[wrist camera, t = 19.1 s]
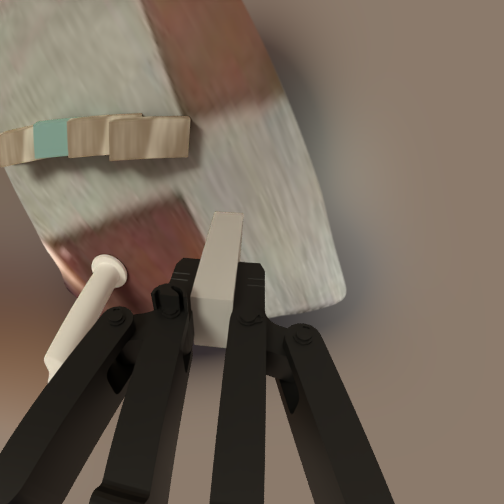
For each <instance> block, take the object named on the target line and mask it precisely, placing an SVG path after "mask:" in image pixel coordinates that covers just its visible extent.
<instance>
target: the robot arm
mask: <svg viewBox="0 0 504 504" xmlns="http://www.w3.org/2000/svg"><path fill="white" fill-rule="evenodd" d="M242 226H243V213H230V212H217V211H215V213H214V216H213V219H212V223H211V226H210V229H209V233H208V236H207V239H206V243H205V246H204V250H203V253H202V256H201V259H191V258H183V259H181V260H180V261H179V262H178V263H177V264H176V266H175V269H174V272H173V274H172V277H171V280H170V282H169V283H168V284H163V285H159V286H158V287H156V288H155V289H154V290H153V291H152V293H151V296H152V302H153V307H154V311H151V312H148V313H144V314H135V315H133V314H132V312H131V311H130V310H129V309H127V308H126V307H120V306H119V307H113V308H110V309H108V310H107V311H106V312H104V313H103V314H102V315H101V317H100V318H99V319H98V320H97V321H96V323H95V324H94V325H93V326H92V328H91V329H90V330H89V331H88V332H87V334H86V335H85V336H84V337H83V339H82V340H81V341H80V342H79V344H78V345H77V346H76V347H75V349H74V350H73V351H72V352H71V354H70V355H69V356H68V358H67V359H66V360H65V361H64V363H63V364H62V365H61V367H60V368H59V369H58V371H57V372H56V373H55V375H54V376H53V377H52V379H51V380H50V381H49V383H48V384H47V385H46V387H45V388H44V389H43V391H42V392H41V394H40V395H39V396H38V398H37V399H36V401H35V402H34V403H33V405H32V406H31V408H30V409H29V411H28V412H27V413H26V415H25V416H24V418H23V419H22V421H21V422H20V424H19V425H18V427H17V428H16V430H15V431H14V433H13V434H12V436H11V437H10V439H9V440H8V442H7V444H6V445H5V447H4V448H3V450H2V452H1V453H0V504H62V503H63V501H64V500H65V498H66V496H67V495H68V493H69V491H70V489H71V487H72V486H73V484H74V482H75V480H76V478H77V476H78V475H79V473H80V471H81V470H82V468H83V466H84V464H85V463H86V461H87V459H88V457H89V456H90V454H91V452H92V450H93V449H94V447H95V445H96V444H97V442H98V440H99V438H100V437H101V435H102V433H103V432H104V430H105V428H106V427H107V425H108V423H109V422H110V420H111V418H112V417H113V415H114V413H115V412H116V410H117V408H118V407H119V405H120V403H121V402H122V400H123V399H124V402H123V405H122V409H121V412H120V415H119V419H118V422H117V426H116V430H115V433H114V437H113V441H112V445H111V448H110V452H109V457H108V460H107V465H106V469H105V473H104V478H103V481H102V483H101V485H100V486H99V487H97V488H96V489H95V490H94V492H93V493H92V495H91V498H90V502H89V504H168V498H169V491H170V483H171V477H172V470H173V464H174V457H175V451H176V445H177V439H178V433H179V427H180V421H181V415H182V409H183V404H184V399H185V393H186V388H187V382H188V377H189V372H190V367H191V361H192V356H193V353H192V345H193V340H194V344H195V345H202V346H211V347H222V348H226V354H225V364H224V371H223V372H224V373H223V380H222V390H221V398H220V407H219V416H218V426H217V435H216V444H215V455H214V463H213V473H212V483H211V494H210V504H264V474H265V473H264V472H265V419H266V414H265V413H266V375H269V376H272V377H275V380H276V383H277V386H278V389H279V392H280V396H281V399H282V402H283V405H284V409H285V412H286V415H287V418H288V421H289V424H290V428H291V431H292V434H293V437H294V440H295V443H296V447H297V450H298V453H299V456H300V459H301V462H302V465H303V468H304V472H305V475H306V478H307V481H308V484H309V487H310V490H311V493H312V496H313V499H314V502H315V504H395V503H394V501H393V499H392V496H391V493H390V491H389V489H388V486H387V484H386V481H385V479H384V477H383V474H382V472H381V469H380V467H379V465H378V462H377V460H376V457H375V455H374V453H373V450H372V449H371V446H370V444H369V441H368V439H367V436H366V434H365V432H364V430H363V427H362V425H361V423H360V421H359V418H358V416H357V414H356V411H355V409H354V407H353V405H352V403H351V400H350V398H349V396H348V394H347V391H346V389H345V387H344V385H343V382H342V380H341V378H340V376H339V374H338V371H337V369H336V367H335V365H334V363H333V360H332V358H331V356H330V354H329V352H328V350H327V347H326V345H325V343H324V341H323V339H322V337H321V335H320V333H319V332H318V331H317V329H315V328H314V327H312V326H311V325H307V324H295V325H291V326H290V327H289V328H288V329H287V328H284V327H281V326H279V325H276V324H274V323H273V322H271V321H270V320H269V319H268V318H267V316H266V314H265V271H264V269H263V267H262V266H261V264H260V263H247V262H240V255H241V240H242ZM124 397H125V398H124Z"/></svg>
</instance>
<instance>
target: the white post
mask: <svg viewBox="0 0 504 504" xmlns="http://www.w3.org/2000/svg"><path fill="white" fill-rule="evenodd" d="M92 272H93V275H92V276H91V278H90V279H89V281H88V282H87V284H86V286H85V287H84V289H83V290H82V292H81V294H80V295H79V297H78V298H77V300H76V302H75V303H74V305H73V307H72V308H71V310H70V312H69V314H68V315H67V317H66V319H65V320H64V322H63V324H62V326H61V328H60V329H59V331H58V333H57V335H56V337H55V338H54V340H53V342H52V344H51V346H50V348H49V350H48V351H47V353H46V355H45V357H44V362H45V364H46V366H47V368H48V370H49V379H48V383H49V381H50V380H51V379H52V377H53V376H54V375H55V373H56V372H57V371H58V369H59V368H60V367H61V365H62V364H63V363H64V361H65V360H66V359H67V358H68V356H69V355H70V354H71V352H72V351H73V350H74V349H75V347H76V346H77V345H78V344H79V342H80V341H81V340H82V339H83V337H84V336H85V335H86V334H87V332H88V331H89V330H90V329H91V328H92V326H93V325H94V324H95V323H96V321H97V320H98V318H99V316H100V314H101V312H102V310H103V308H104V306H105V304H106V302H107V301H108V299H109V297H110V295H111V293H112V291H113V289H114V288H118V287H121V286H123V285H124V284H125V282H126V280H127V271H126V269H125V267H124V265H123V264H122V263H121V262H120V261H119V260H118V259H117V258H115V257H113V256H110V255H105V254H103V255H99V256H97V257H96V258H95V259H94V260H93V262H92Z"/></svg>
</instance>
